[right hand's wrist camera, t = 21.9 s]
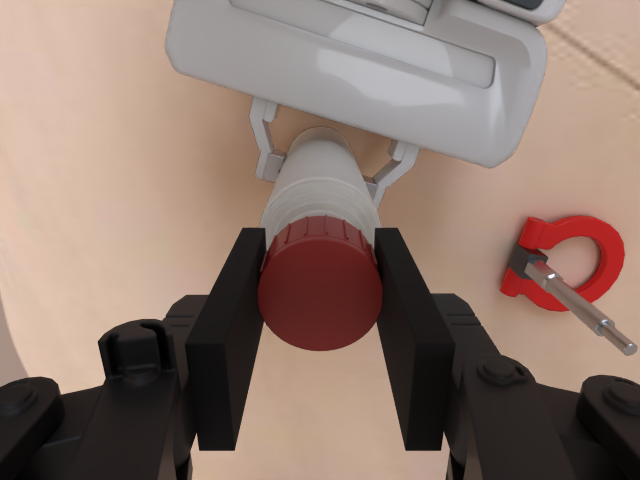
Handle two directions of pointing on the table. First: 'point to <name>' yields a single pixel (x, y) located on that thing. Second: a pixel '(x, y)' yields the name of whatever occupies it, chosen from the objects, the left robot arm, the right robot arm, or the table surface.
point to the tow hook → (549, 287)
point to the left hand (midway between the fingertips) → (316, 193)
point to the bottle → (320, 186)
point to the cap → (320, 284)
